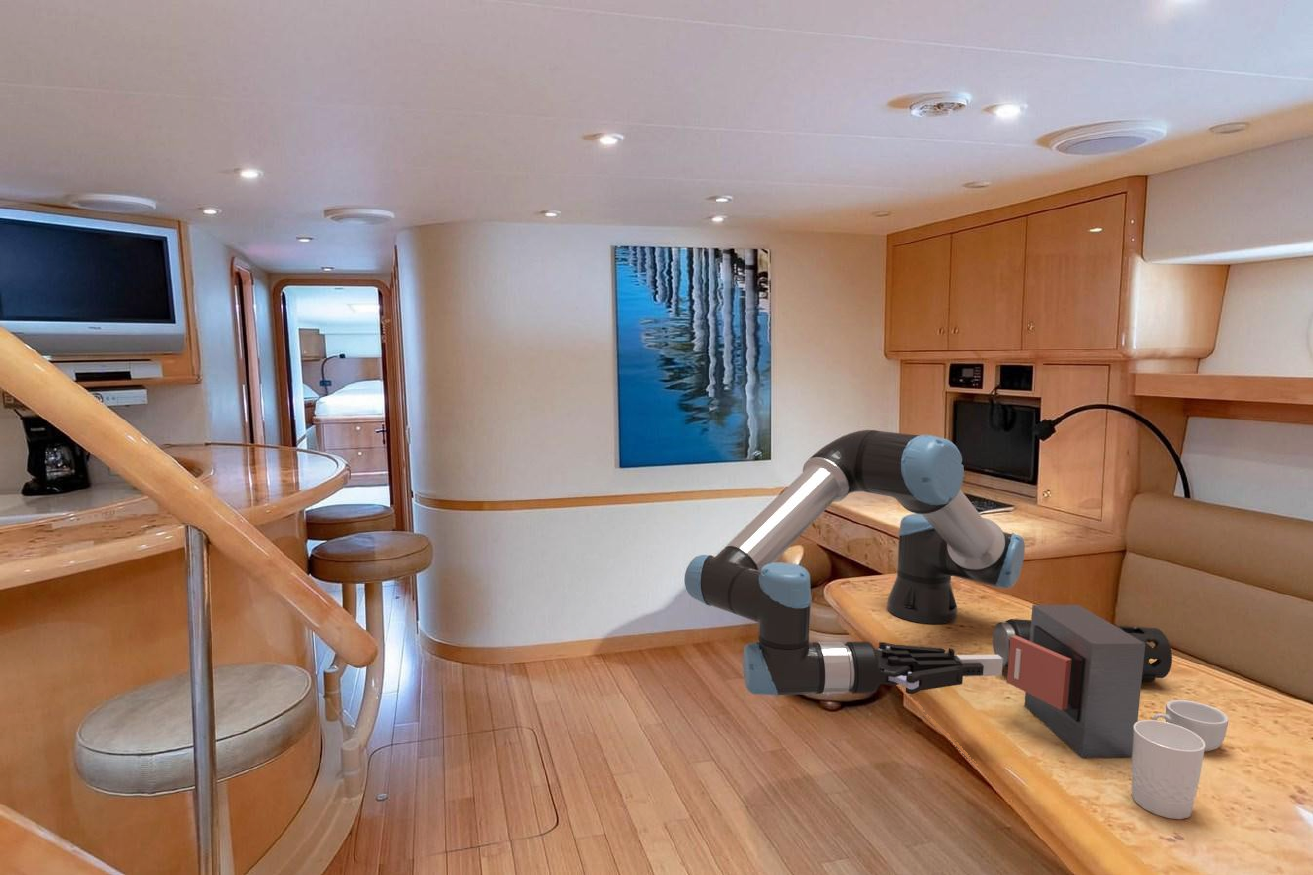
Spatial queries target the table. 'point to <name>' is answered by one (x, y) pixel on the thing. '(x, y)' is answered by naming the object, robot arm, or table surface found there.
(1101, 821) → the table surface
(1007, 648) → the muzzle brake
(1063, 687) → the rocker
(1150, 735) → the white cup
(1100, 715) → the switch box
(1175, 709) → the teacup
